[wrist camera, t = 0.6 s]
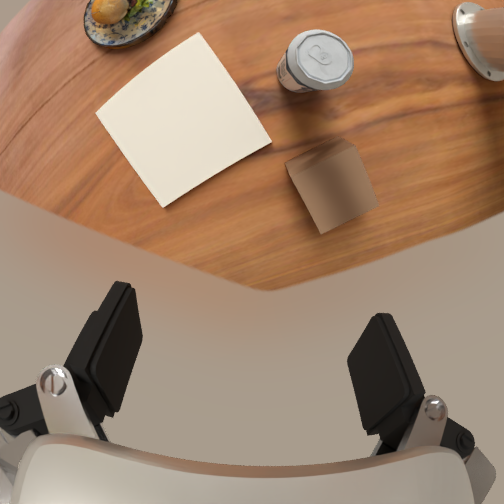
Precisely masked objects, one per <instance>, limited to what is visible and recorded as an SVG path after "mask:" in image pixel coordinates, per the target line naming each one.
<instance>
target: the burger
mask: <svg viewBox="0 0 504 504" xmlns="http://www.w3.org/2000/svg"><path fill="white" fill-rule="evenodd" d="M176 3H177V0H90V2H89V3H88V4H87V7H86V10H85V13H84V28H85V32H86V35H87V36H88V37H89V39H91V40H92V41H93V42H94V43H95V44H98V45H100V46H102V47H106V48H109V49H121V48H127V47H130V46H134V45H136V44H139V43H141V42H143V41H145V40H146V39H148V38H149V37H151V36H153V35H154V34H155V33H156V32H157V31H159V30H160V29H161V28H162V27H163V25H165V20H166V18H168V16H169V15H170V13H172V14H173V11H174V9H175V6H176V5H177V4H176ZM170 16H171V15H170ZM170 16H169V17H170ZM166 21H167V20H166Z"/></svg>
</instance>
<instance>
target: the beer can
mask: <svg viewBox="0 0 504 504" xmlns="http://www.w3.org/2000/svg"><path fill="white" fill-rule="evenodd" d="M353 68H354V60H353V55H352V52H351V50H350V49H349V47H348V45H347V44H346V43H345V42H344V41H343V40H342V39H341V38H340V37H338V36H336V35H335V34H333V33H331V32H328V31H324V30H309V31H305V32H303V33H301V34H299V35H298V36H297V37H295V38H294V39H293V41H292V42H291V44H290V45H289V47H288V49H287V51H286V52H285V54H284V55H283V57H282V58H281V60H280V61H279V63H278V65H277V77H278V79H279V81H280V83H281V84H282V85H283V86H284V87H285V88H287V89H288V90H290V91H293V92H298V93H303V92H309V91H317V90H329V89H335V88H337V87H339V86H341V85H343V84H344V83H345V82H346V81H347V80H348V79H349V78H350V76H351V74H352V72H353Z"/></svg>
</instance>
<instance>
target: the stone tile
mask: <svg viewBox="0 0 504 504" xmlns="http://www.w3.org/2000/svg"><path fill="white" fill-rule="evenodd" d="M96 115H97V116H98V118H99V119H100V121H101V122H102V124H103V125H104V126H105V128H106V129H107V131H108V132H109V134H110V135H111V137H112V138H113V140H114V141H115V143H116V144H117V145H118V147H119V148H120V150H121V151H122V153H123V154H124V155H125V157H126V158H127V160H128V161H129V162H130V164H131V165H132V167H133V168H134V169H135V171H136V172H137V174H138V175H139V176H140V178H141V179H142V180H143V182H144V183H145V185H146V186H147V187H148V189H149V190H150V191H151V193H152V194H153V195H154V197H155V198H156V199H157V201H158V202H159V203H160V205H161V206H162V207H163V208H164V207H165V206H167V205H168V204H170V203H171V202H173V201H174V200H176V199H177V198H179V197H180V196H182V195H183V194H185V193H186V192H188V191H189V190H191V189H192V188H194V187H196V186H197V185H199V184H200V183H202V182H204V181H205V180H207V179H208V178H210V177H212V176H213V175H215V174H217V173H218V172H220V171H222V170H223V169H225V168H227V167H228V166H230V165H232V164H233V163H235V162H237V161H239V160H240V159H242V158H244V157H246V156H247V155H249V154H251V153H253V152H255V151H256V150H258V149H260V148H262V147H264V146H265V145H267V144H269V143H271V142H272V140H271V139H270V137H269V135H268V134H267V132H266V130H265V129H264V127H263V126H262V124H261V122H260V121H259V119H258V117H257V116H256V114H255V113H254V111H253V110H252V108H251V106H250V105H249V103H248V102H247V100H246V99H245V97H244V96H243V94H242V92H241V91H240V89H239V88H238V86H237V85H236V83H235V82H234V80H233V79H232V77H231V76H230V75H229V73H228V72H227V70H226V69H225V67H224V66H223V64H222V63H221V62H220V60H219V59H218V57H217V56H216V55H215V53H214V52H213V50H212V49H211V48H210V46H209V45H208V43H207V42H206V41H205V39H204V38H203V37H202V35H201V34H200V33H199V32H198V33H197V34H195V35H193V36H192V37H190V38H189V39H187V40H186V41H184V42H182V43H181V44H179V45H178V46H176V47H175V48H173V49H172V50H170V51H169V52H168V53H166V54H165V55H163V56H162V57H161V58H159V59H158V60H156V61H155V62H154V63H152V64H151V65H150V66H148V67H147V68H146V69H145V70H143V71H142V72H141V73H140V74H138V75H137V76H136V77H135V78H133V79H132V80H131V81H130V82H129V83H127V84H126V85H125V86H124V87H123V88H122V89H121V90H119V91H118V92H117V93H116V94H115V95H114V96H113V97H112V98H111V99H109V100H108V101H107V102H106V103H105V104H104V105H103V106H102V107H101V108H100V109H99V110H98V111H97V112H96Z"/></svg>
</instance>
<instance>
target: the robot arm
mask: <svg viewBox="0 0 504 504" xmlns="http://www.w3.org/2000/svg"><path fill="white" fill-rule="evenodd" d="M453 27H454V32H455V35H456V39H457V41H458V44H459V46H460V48H461V50H462V52H463V54H464V56H465V57H466V59H467V60H468V62H469V63H470V65H471V66H472V67H473V68H474V69H475V70H476V71H477V72H478V73H479V74H480V75H481V76H483V77H484V78H486V79H488V80H492V81H501V80H503V79H504V7H501V8H492V9H484V8H482V7H481V6H479V5H477V4H474V3H471V2H465V3H461V4H459V5H458V6H457V7H456V8H455V10H454V12H453ZM142 337H143V335H142V329H141V324H140V318H139V313H138V305H137V299H136V292H135V289H134V288H131V284H130V283H125V282H119V281H116V282H115V283H114V284H113V285H112V287H111V289H110V291H109V292H108V294H107V296H106V297H105V299H104V301H103V302H102V304H101V306H100V308H99V309H98V311H94V312H92V314H91V315H90V316H89V318H88V320H87V322H86V324H85V325H84V327H83V329H82V331H81V333H80V334H79V336H78V338H77V340H76V342H75V344H74V346H73V348H72V350H71V352H70V354H69V356H68V358H67V360H66V362H65V364H64V366H61V365H55V364H54V365H49V366H47V367H45V368H43V369H42V370H41V371H40V373H39V374H38V376H37V380H36V384H34V385H32V386H29V387H26V388H24V389H21V390H19V391H16V392H14V393H11V394H8V395H5V396H3V397H1V398H0V504H481V503H482V502H483V500H484V499H485V497H486V495H487V494H488V492H489V490H490V488H491V487H492V485H493V483H494V481H495V478H496V471H495V468H494V466H493V465H492V464H491V463H490V462H489V460H488V459H487V458H486V457H485V456H484V454H483V453H482V452H481V451H480V450H479V449H478V447H475V448H474V446H475V442H474V437H473V435H472V434H471V432H470V431H469V430H467V429H465V428H464V427H462V426H461V425H459V424H458V423H456V422H455V421H453V420H451V419H450V418H448V409H447V406H446V404H445V403H444V401H443V400H442V399H441V398H440V397H437V396H435V395H429V396H427V397H426V398H425V397H424V394H425V389H424V387H423V385H422V382H421V379H420V377H419V374H418V372H417V370H416V367H415V365H414V363H413V360H412V358H411V356H410V353H409V351H408V349H407V347H406V345H405V342H404V340H403V338H402V336H401V334H400V331H399V330H398V327H397V325H396V323H395V321H394V319H393V317H392V315H391V314H389V313H377V314H376V315H375V316H373V317H372V318H371V319H370V321H369V323H368V325H367V326H366V328H365V330H364V332H363V333H362V335H361V337H360V338H359V340H358V342H357V343H356V345H355V347H354V348H353V350H352V351H351V353H350V355H349V356H348V359H347V363H348V367H349V372H350V376H351V380H352V383H353V387H354V391H355V396H356V400H357V404H358V408H359V412H360V417H361V421H362V426H363V428H364V430H366V432H367V435H375V434H379V436H380V439H379V441H378V443H377V445H376V447H375V448H374V450H373V452H372V454H371V456H370V457H367V458H361V459H356V460H350V461H342V462H334V463H326V464H314V465H300V466H241V465H227V464H216V463H207V462H198V461H192V460H185V459H178V458H173V457H168V456H163V455H158V454H153V453H149V452H144V451H140V450H136V449H132V448H128V447H125V446H121V445H117V444H114V443H111V441H110V439H109V437H108V435H107V433H106V431H105V429H104V427H103V425H102V422H103V420H104V417H105V415H106V416H109V417H113V416H114V413H115V412H119V410H120V407H121V404H122V401H123V397H124V394H125V391H126V387H127V385H128V381H129V378H130V375H131V372H132V369H133V366H134V363H135V360H136V358H137V355H138V352H139V349H140V346H141V343H142ZM20 460H21V462H20ZM19 462H20V465H19V468H18V464H19Z"/></svg>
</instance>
